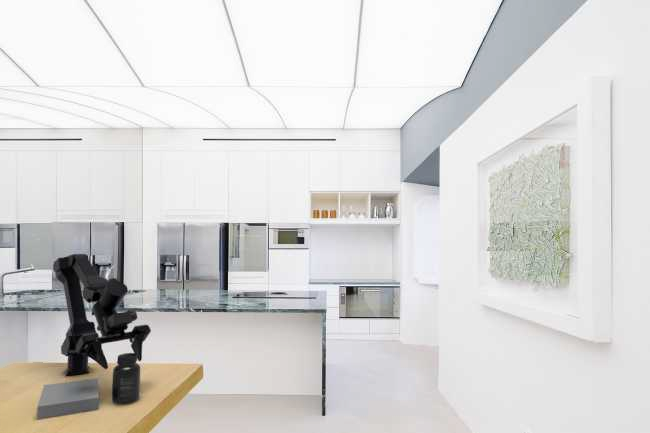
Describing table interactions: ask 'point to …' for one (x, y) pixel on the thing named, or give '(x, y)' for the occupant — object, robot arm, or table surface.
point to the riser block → (68, 398)
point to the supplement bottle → (126, 379)
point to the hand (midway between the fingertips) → (124, 364)
